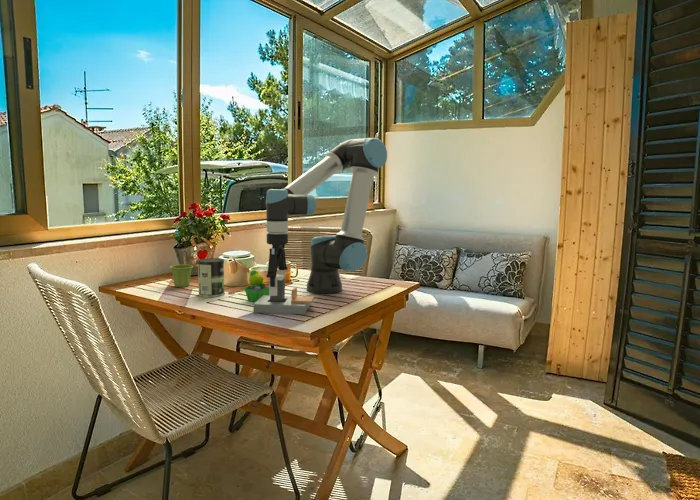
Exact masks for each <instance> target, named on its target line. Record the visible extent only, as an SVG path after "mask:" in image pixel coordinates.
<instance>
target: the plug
mask: <svg viewBox="0 0 700 500" xmlns="http://www.w3.org/2000/svg"><path fill="white" fill-rule="evenodd" d="M276 277H277V296H270V302H285V296H286V292H285V291H286V274H285V275H278V273H277V276H276Z"/></svg>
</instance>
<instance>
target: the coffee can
mask: <svg viewBox="0 0 700 500" xmlns="http://www.w3.org/2000/svg"><path fill="white" fill-rule="evenodd" d="M196 262H197V279H198V280H197V282H198V284H197V285H198V296H199V297H201V298H213V297H214V298H215V297H216V298H218V297H221V296H222V297H223V296H224V295H225V294H226V293H225V266H224V264H225V260H224V258H217V257H216V258H215V257H214V258H213V257H208V258H201V259H198V260H197V261H196Z"/></svg>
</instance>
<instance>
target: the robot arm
mask: <svg viewBox="0 0 700 500" xmlns="http://www.w3.org/2000/svg"><path fill="white" fill-rule="evenodd" d="M387 160H388V151H387V147H386V146H385V144H384V142H383V141H382V140H381V139H380V138H378V137H365V138H354V139H353V138H352V139H347V140H346V141H343V142H342V143H340V144H338V145H336V146H335V147H334V148H333V149H332V148H331V150H329V151H328V152H327V153H326V154H325V156H324V158H323V159H321V160H320V161H319V162H318V163H316V164H315V165H313V167H311V168H310V169H309V170H307V171H305V172H304V173H303V174H301V175H300V176H299V177H298V178H297V179H295V180H294V181H292V182H291V183H289V184H288V185H286V187H284V188H281V189H278V188H277V189H276V188H275V189H273V188H270V189H268V190H267V191H266V196H265V207H266V209H265V210H266V213H265V214H266V222H265V224H264V226H266V233H267V234H266V244H267V245H271V246H272V247H271V248H269V249H268V250H269V257H268V267H267V274H266V278H268V284H269V296H277V277H276V276H277V274H278V275H285V276H286V270H287V271H288V266H287V265H288V264H287V260H286V259H287V257H286V249H285V246H286V245H287V244H288V243H289V234H288V232H289V217H290V216H291V217H292V216H308V215H313V214H314V213H315V212H316V210H317V200H316V199H315V197H314V196H313V195H312V194H311V193H312V192H313V191H315V189H318V187H320V186H321V185H322V184H324V182H326V181H327V180H329V179H330V178H332V176H334V175H335V174H341V173H342V172H343V171H344V170H347V169H349V170H350V172H351V173H352V175H351V179H350V184H349V188H348V192H347V198H346V203H345V207H344V208H345V209H344V213H343V218H342V224H341V227H340V231H339V232H337V233H336V234H335V235H325V236H315V237H312V238H311V241H310V242H311V243H310V274H309V277H308V279H307V283H306V291H308V292H309V293H315V294H334V293H340V292H342V291H343V283H342V280H341V277H340V274H339V270H343V271H347V272H356V271H358V270H360V269H361V268H362V267H363V266H364V265H365V264H366V262H367V259H368V250H367V246H366V245H365V238H364V237H363V229H364V224H365V219H366V214H367V209H368V205H369V200H370V194H371V191H372V186H373V180H374V177H376V176H377V175H378V174H379V169H380V168H381V167H383V166H384V165H385V164H386V163H387Z"/></svg>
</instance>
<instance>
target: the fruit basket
mask: <svg viewBox="0 0 700 500" xmlns="http://www.w3.org/2000/svg"><path fill="white" fill-rule="evenodd" d="M248 281H249V284H250V285H249V286H245V287H243V289H244V292H245V295H246V299H247V301H249V302H254V303H255V302H256V301H257V300H259V299H260V298H261V297H262V296H263V295H269V283H266V282H265V283H264V277H263V275H262V274H261V273H260V272H259V271H257V270H256V269H252V270H250V273H249V280H248Z"/></svg>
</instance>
